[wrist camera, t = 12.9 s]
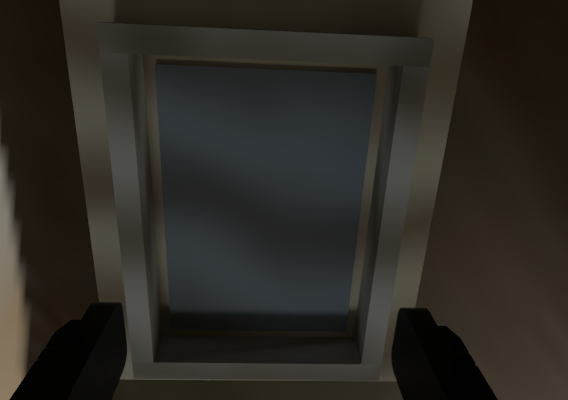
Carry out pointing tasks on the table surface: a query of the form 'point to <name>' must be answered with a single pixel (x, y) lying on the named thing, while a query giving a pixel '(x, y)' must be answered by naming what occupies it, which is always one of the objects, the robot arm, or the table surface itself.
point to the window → (261, 176)
